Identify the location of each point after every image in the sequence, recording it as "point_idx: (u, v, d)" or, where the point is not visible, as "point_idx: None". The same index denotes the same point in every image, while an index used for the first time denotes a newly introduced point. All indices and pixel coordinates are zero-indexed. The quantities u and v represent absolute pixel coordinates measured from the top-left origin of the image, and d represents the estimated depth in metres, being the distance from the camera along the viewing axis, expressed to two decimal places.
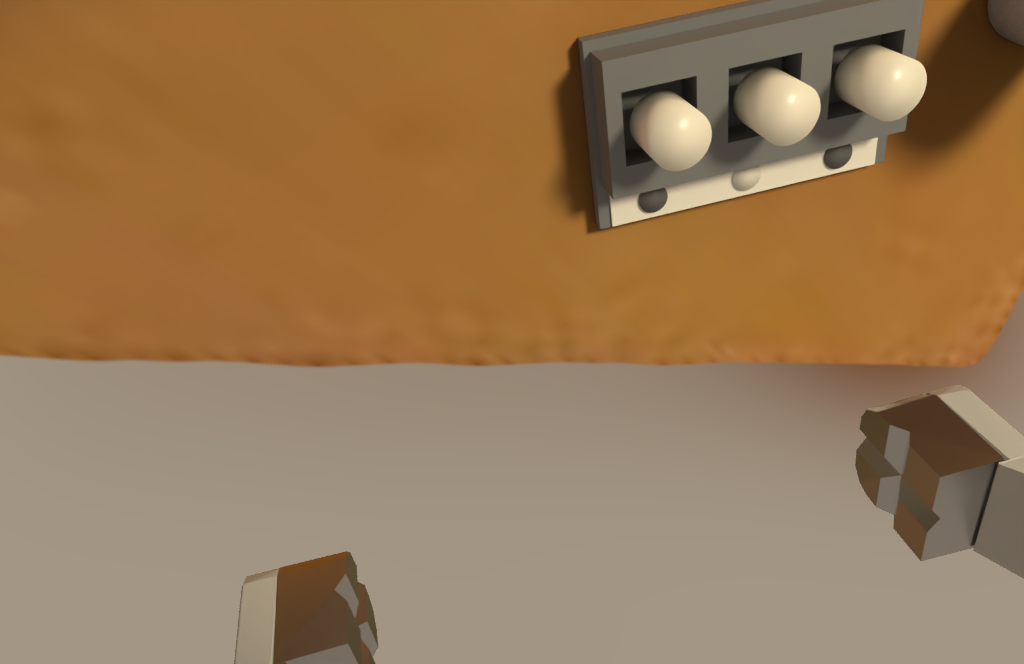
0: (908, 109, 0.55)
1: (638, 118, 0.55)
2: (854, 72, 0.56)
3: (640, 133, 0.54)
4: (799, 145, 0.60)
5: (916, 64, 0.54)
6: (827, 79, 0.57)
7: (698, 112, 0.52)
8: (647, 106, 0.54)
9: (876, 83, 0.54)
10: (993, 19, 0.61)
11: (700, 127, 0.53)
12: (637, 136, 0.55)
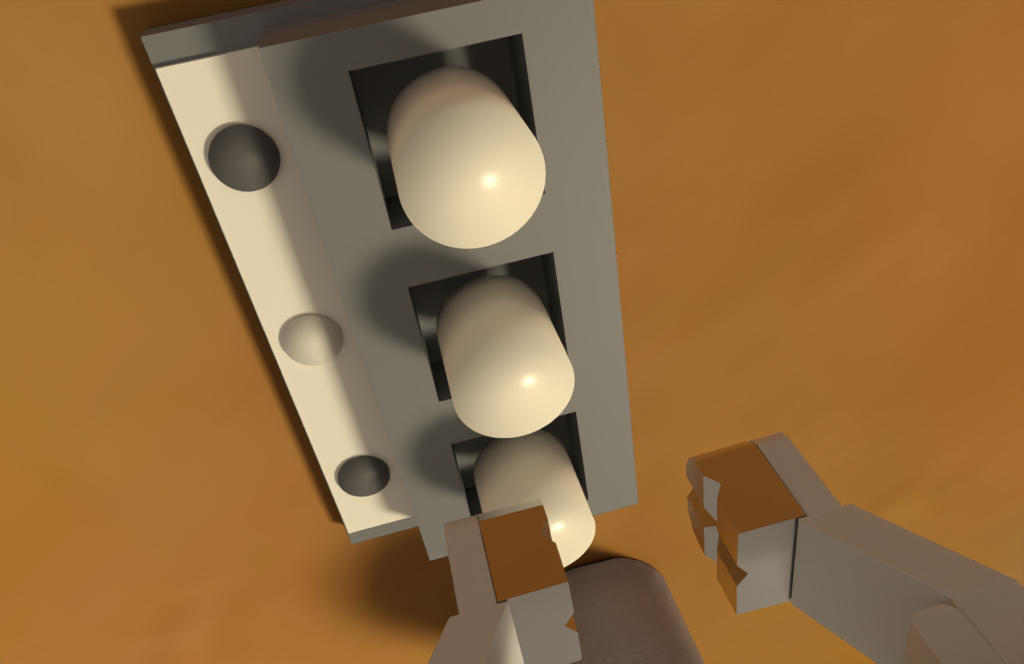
0: None
1: (477, 79, 0.24)
2: (549, 460, 0.33)
3: (457, 86, 0.23)
4: (403, 416, 0.32)
5: (583, 547, 0.33)
6: None
7: (534, 206, 0.24)
8: (504, 95, 0.25)
9: (560, 505, 0.31)
10: None
11: (501, 218, 0.24)
12: (440, 82, 0.24)
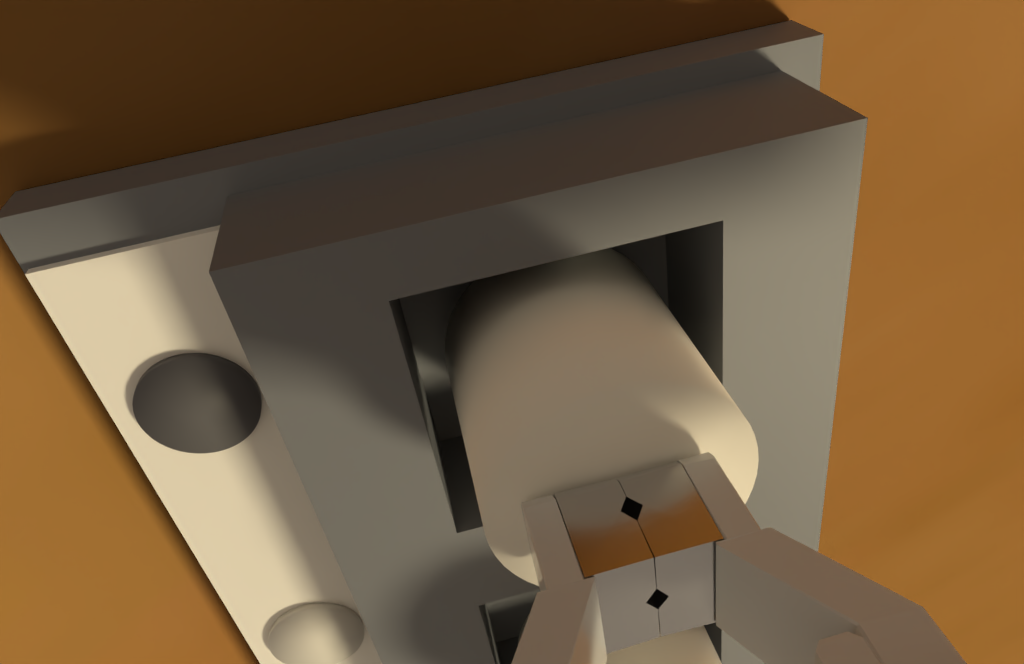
0: None
1: (617, 278, 0.13)
2: None
3: (589, 307, 0.12)
4: None
5: None
6: None
7: None
8: (661, 302, 0.14)
9: None
10: None
11: None
12: (553, 291, 0.13)
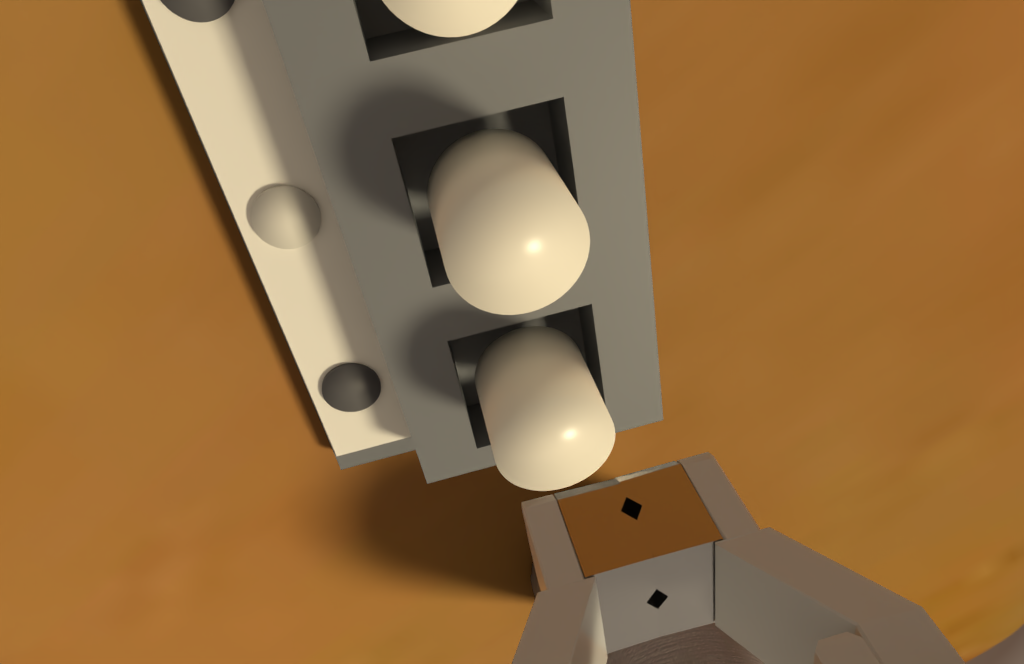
0: (516, 478, 0.28)
1: None
2: (560, 357, 0.28)
3: None
4: (391, 304, 0.27)
5: (601, 457, 0.28)
6: (528, 314, 0.29)
7: None
8: None
9: (574, 403, 0.27)
10: None
11: None
12: None
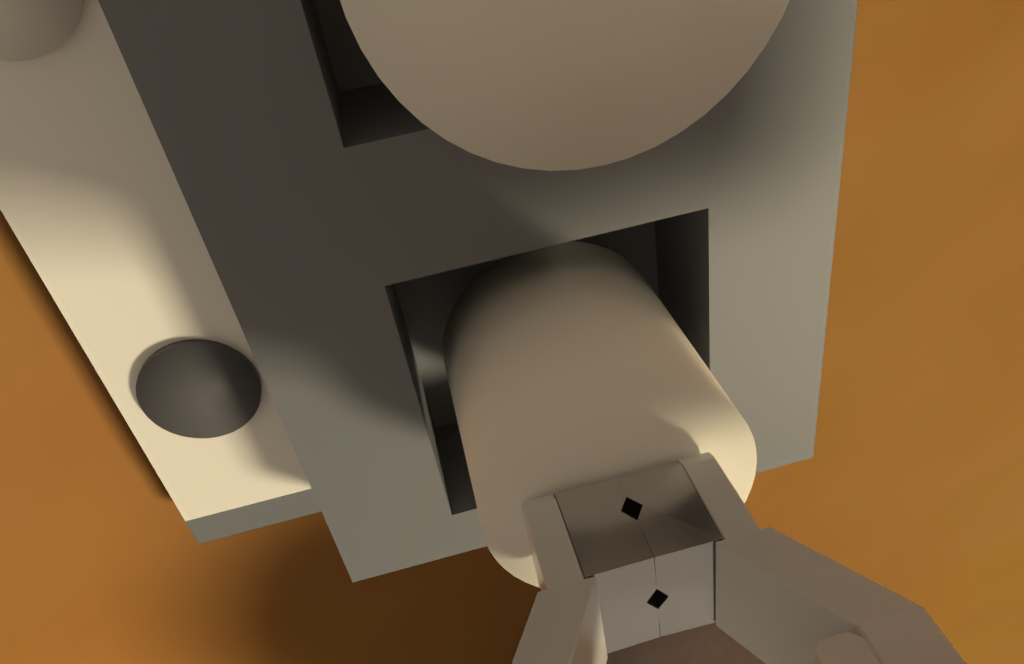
0: (531, 569, 0.12)
1: None
2: (630, 300, 0.13)
3: None
4: (243, 186, 0.11)
5: None
6: (568, 227, 0.13)
7: None
8: None
9: (674, 400, 0.11)
10: None
11: None
12: None
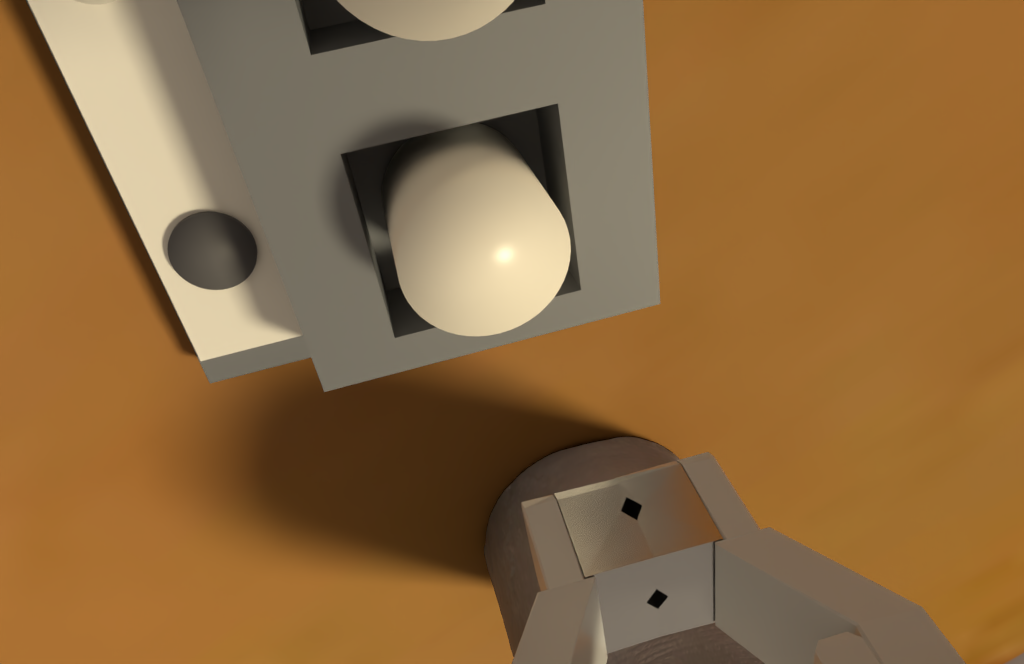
0: (432, 313, 0.20)
1: None
2: (495, 147, 0.20)
3: None
4: (246, 80, 0.18)
5: (552, 286, 0.20)
6: (462, 115, 0.19)
7: None
8: None
9: (509, 190, 0.18)
10: (535, 474, 0.31)
11: None
12: None
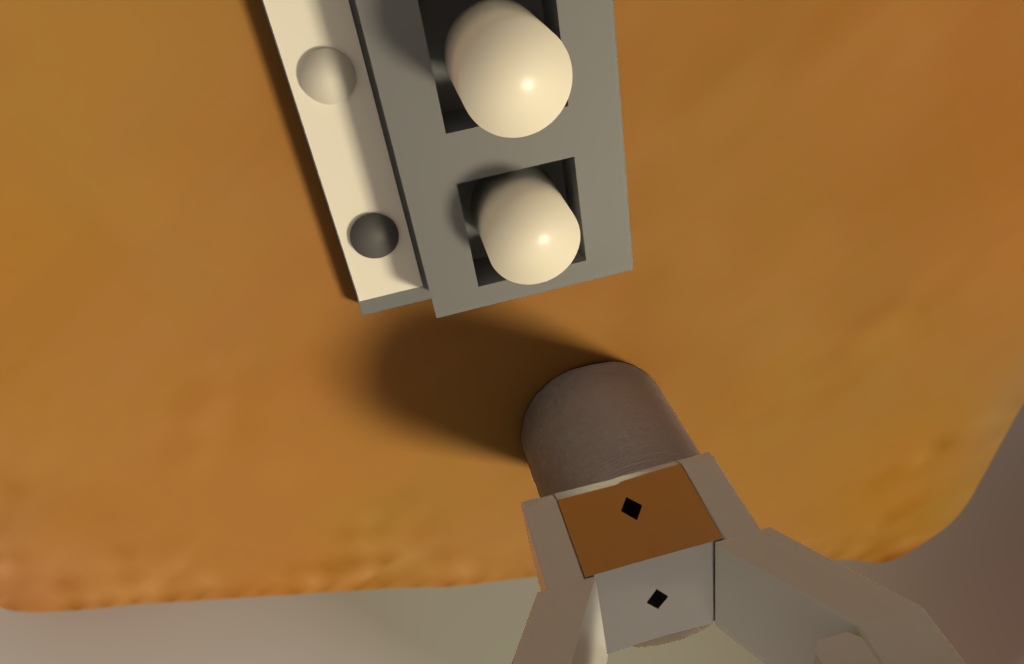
0: (504, 270, 0.36)
1: None
2: (539, 179, 0.37)
3: None
4: (412, 146, 0.34)
5: (569, 256, 0.36)
6: (522, 163, 0.36)
7: None
8: None
9: (548, 205, 0.35)
10: (555, 384, 0.47)
11: None
12: None
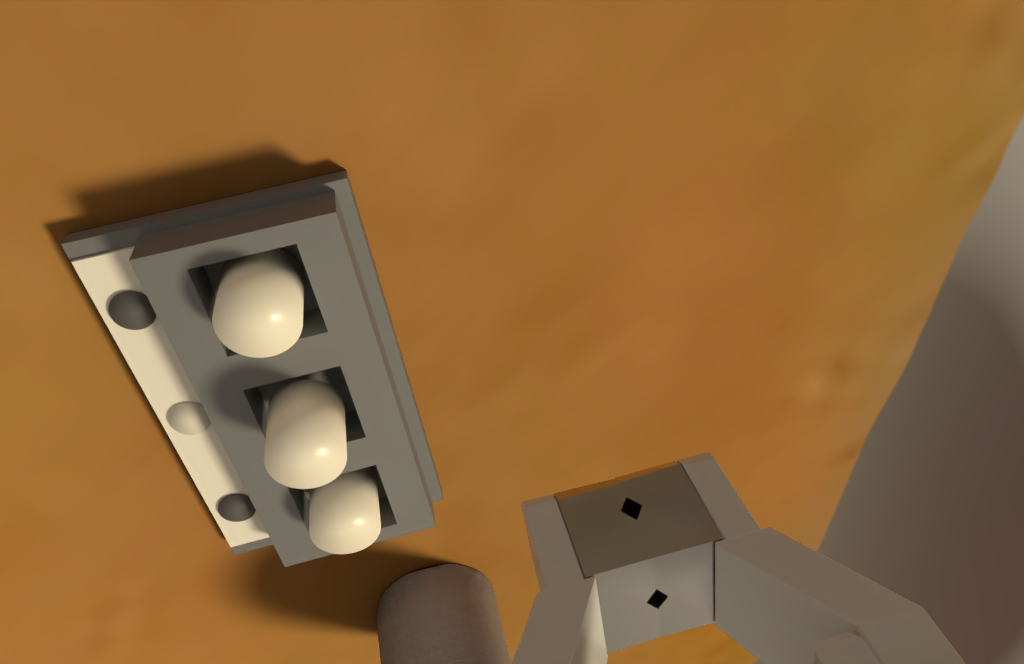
0: (325, 547, 0.49)
1: (268, 256, 0.41)
2: (352, 478, 0.49)
3: (251, 265, 0.40)
4: (251, 470, 0.47)
5: (375, 535, 0.49)
6: None
7: (299, 333, 0.40)
8: (286, 265, 0.41)
9: (352, 507, 0.48)
10: (399, 584, 0.60)
11: (279, 341, 0.40)
12: (244, 260, 0.40)
